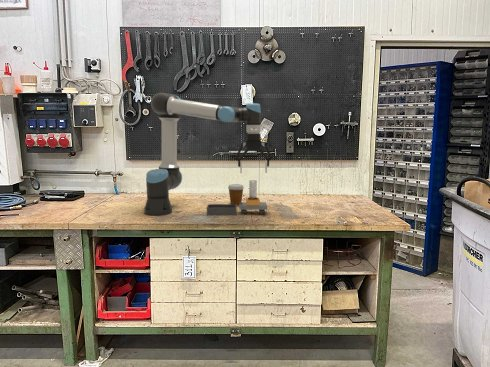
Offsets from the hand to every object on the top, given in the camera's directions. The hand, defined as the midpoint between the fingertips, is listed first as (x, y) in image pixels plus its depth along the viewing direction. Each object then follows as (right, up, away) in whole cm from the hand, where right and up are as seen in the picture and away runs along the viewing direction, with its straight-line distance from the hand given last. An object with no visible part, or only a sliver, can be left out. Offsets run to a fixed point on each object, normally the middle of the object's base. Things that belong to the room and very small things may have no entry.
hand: (253, 172), depth 203 cm
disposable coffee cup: (-10, -19, +24) cm, 32 cm away
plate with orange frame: (0, -22, +4) cm, 22 cm away
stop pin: (0, -17, +3) cm, 17 cm away
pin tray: (-17, -22, +3) cm, 28 cm away
